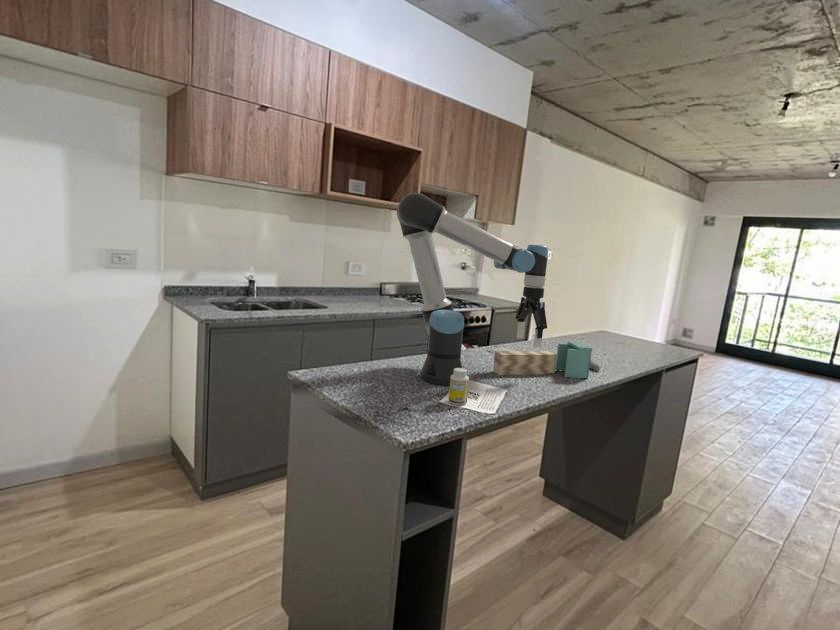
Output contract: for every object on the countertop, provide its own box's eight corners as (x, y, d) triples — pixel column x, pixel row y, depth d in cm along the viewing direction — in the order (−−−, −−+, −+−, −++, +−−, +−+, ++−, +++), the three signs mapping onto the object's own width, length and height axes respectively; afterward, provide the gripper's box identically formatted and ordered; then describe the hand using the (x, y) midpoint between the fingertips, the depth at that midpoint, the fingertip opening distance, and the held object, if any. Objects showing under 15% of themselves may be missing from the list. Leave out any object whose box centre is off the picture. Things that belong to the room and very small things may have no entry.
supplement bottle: (457, 398, 140) (460, 366, 138) (470, 403, 135) (473, 370, 134) (444, 401, 136) (447, 368, 134) (457, 407, 132) (460, 373, 130)
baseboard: (541, 371, 180) (559, 368, 187) (542, 364, 179) (560, 361, 187) (485, 352, 204) (503, 350, 211) (485, 346, 203) (503, 344, 211)
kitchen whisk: (591, 373, 181) (594, 357, 180) (560, 352, 215) (562, 339, 214) (606, 374, 182) (608, 358, 181) (572, 353, 215) (574, 340, 214)
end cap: (565, 377, 171) (569, 346, 169) (554, 370, 181) (558, 340, 179) (587, 378, 172) (592, 348, 170) (576, 371, 182) (580, 342, 180)
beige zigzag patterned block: (499, 375, 168) (501, 354, 167) (492, 371, 173) (495, 351, 171) (554, 374, 175) (556, 354, 174) (547, 370, 180) (549, 351, 179)
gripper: (561, 291, 158) (554, 350, 161) (527, 283, 182) (522, 335, 185) (541, 290, 156) (535, 350, 159) (510, 282, 180) (505, 335, 183)
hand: (528, 342), depth 172 cm, fingers open, 13 cm apart
